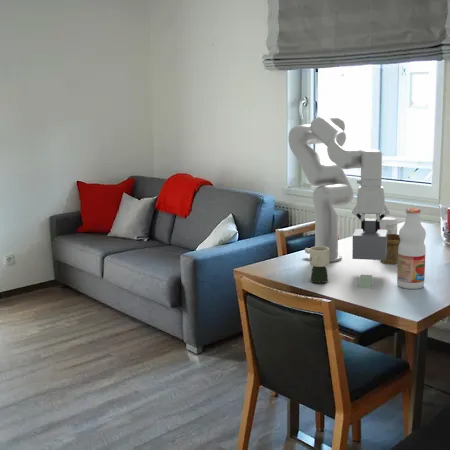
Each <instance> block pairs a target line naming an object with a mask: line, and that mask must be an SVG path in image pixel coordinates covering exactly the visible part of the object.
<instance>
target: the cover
mask: <svg viewBox="0 0 450 450" xmlns="http://www.w3.org/2000/svg"><path fill="white" fill-rule="evenodd" d="M376 219H377V218H365V231H364V232H363V229H361V228H355V229H354V232H353V234H352V254H351V255H352V259H353V260H372V261H381V260H386V255H387V230H378V231H377V232H376Z"/></svg>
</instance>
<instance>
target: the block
mask: <svg viewBox="0 0 450 450" xmlns="http://www.w3.org/2000/svg"><path fill="white" fill-rule="evenodd" d="M372 284H373V275H372V274H360V275H359V289H367V290H369V289H370V290H371V289H372V286H373V285H372Z"/></svg>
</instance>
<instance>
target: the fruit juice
mask: <svg viewBox="0 0 450 450" xmlns="http://www.w3.org/2000/svg"><path fill="white" fill-rule="evenodd" d="M405 214H406V219H405V221H404V223H403V225H402V226H401V228H400V229H399V230H398V231H399V232H398V233H399V234H398V235H399V238H400V243H399V246H398V264H397V268H396V269H397V271H396V273H397V274H396V275H397V277H396V280H397V281H396V284H397V286H398V287H400V288H402V289H409V290H418V289H422V288H423V287H424V286H425V276H426V275H425V274H426V253H427V251H426V244H425V240H426V237H427V232H426V229H425V227H424V226H423V225H422V223H421V219H420V215H421V208H418V207H417V208H414V207H411V208H410V207H407V208H406V210H405Z"/></svg>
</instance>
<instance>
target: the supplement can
mask: <svg viewBox="0 0 450 450" xmlns="http://www.w3.org/2000/svg"><path fill="white" fill-rule="evenodd" d="M378 230H387V234H398V221H397V218H396V217H393V216H385V217H384V218H383V219H381V220H380V229H378Z"/></svg>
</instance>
